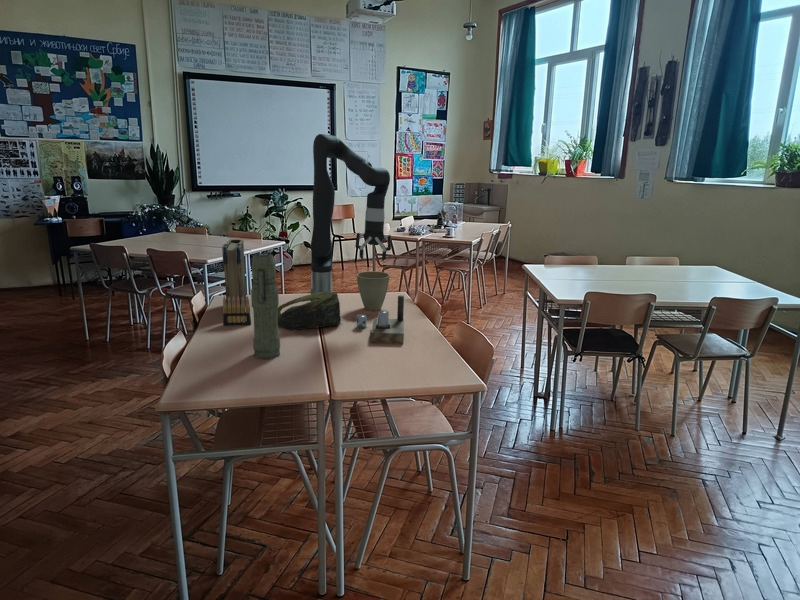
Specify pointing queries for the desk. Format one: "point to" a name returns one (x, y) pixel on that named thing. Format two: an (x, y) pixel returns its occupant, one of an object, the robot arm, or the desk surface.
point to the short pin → (361, 321)
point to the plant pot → (373, 288)
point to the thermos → (265, 307)
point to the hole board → (390, 327)
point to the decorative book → (234, 270)
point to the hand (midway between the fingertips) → (372, 259)
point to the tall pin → (383, 319)
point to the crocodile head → (310, 312)
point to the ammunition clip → (236, 315)
